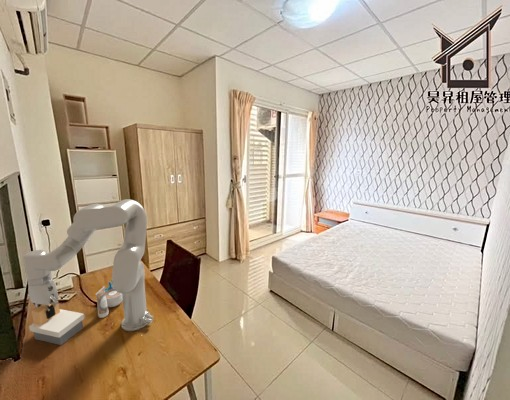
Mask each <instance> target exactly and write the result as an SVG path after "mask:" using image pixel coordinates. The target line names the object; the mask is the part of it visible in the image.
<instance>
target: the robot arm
mask: <svg viewBox="0 0 510 400" xmlns="http://www.w3.org/2000/svg"><path fill="white" fill-rule="evenodd" d="M147 216H148V215H147V212H146V210H145V208H144V207H143V205H142V204H140V203H139V202H138V201H137V200H134V199H131V198H130V199H129V198H128V199H122V200H120V201H118V202H116V203H115V204H112V205H111V206H104V205H103V204H100V203H93V204H92V203H91V204H89V205H86V206H84V207H83V208H81V209H79V210H77V212H76V213H75V214H74V215H73V222H72V223H71V225H70V226H69V227H68V228H67V229H66V235H67V237H66V239H64V240H63V242H62V243H60V245H59V246H57V247H56V248H54V249H53V250H52V251H50V252H47V251H46V250H45V249H36V250H32V251H29V252H27V253H25V254H24V255H23V257H22V261H23V266H24V271H25V276H26V281H27V285H28V286H27V287H28V290H27V291H28V296H29V300H30V302H31V303H33V305H34V307H35V308H34V309H36V308H37V307H39V306H41V305H45V307H46V310H47V311H46V316H47V319H49V318H51V317H52V316H54V315H55V308H54V307H55V306H56V305H57V304H59V298H60V297H59V293H58V289H57V286H56V284H55V281H54V280H53V277H52V272H55V271H57V270H60V269H61V268H62V267H63V266H65V265H66V264H67V263H69V262H70V260H72V259H73V258H74V257H75V256H76V255H77V254H78V253H79V252H80V251H81V249H82V248H83V247H84V246H85V245H86V243H87V242H88V241H89V239H90V238H91V237H92V235H93V234H94V233H95V232H96V231H97V230H100V229H101V230H102V229H109V228H114V227H115V228H116V227H121V226H124V225H126V226H125V229H124V239H123V243H122V245H121V247H120V248H119V249H118V250H117V252H116V253H115V256H114V258H113V263H112V274H111V275H112V276H111V280H112V282H111V283H112V286H113V288H114V290H115V291H117V292H118V293H122V299H123V300H122V307H123V314H124V315H123V316H124V318H123V319H122V320H121V329H122V330H124V331H127V332H134V331H138V330H141V329H143V328H144V327H146V326H147V325H148V324H150V325H151V324H152V323H153V321H154V315H151V313H150V312H149V310H147V300H146V297H147V296H146V289H145V288H146V286H145V283H146V282H145V277H146V273H145V272H146V271H145V266H144V263H143V261H141V260H142V258H143V257H144V254H145V250H146V240H147V239H146V238H147V226H148V217H147ZM49 304H51V306H50V307H49ZM59 305H60V304H59Z"/></svg>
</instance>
